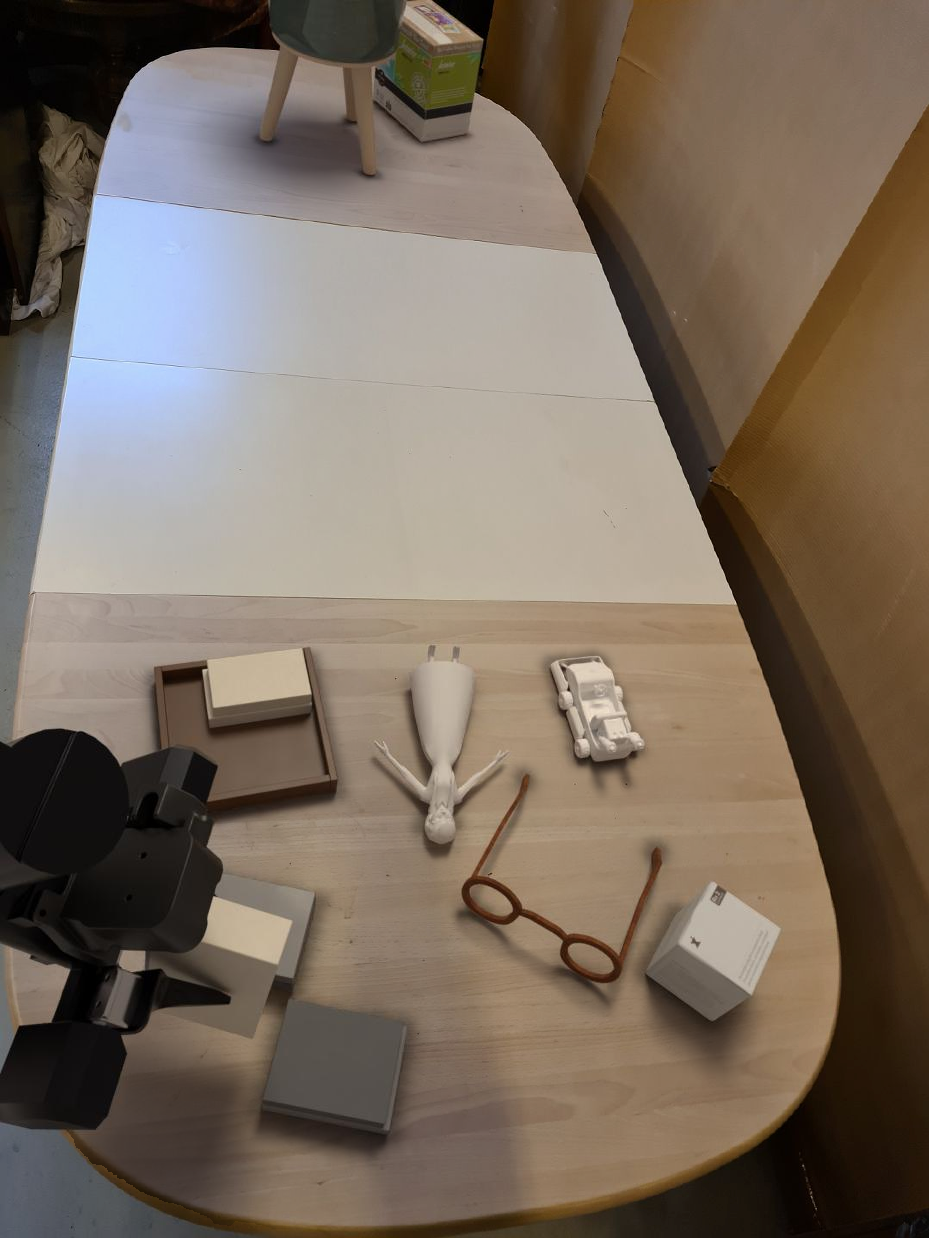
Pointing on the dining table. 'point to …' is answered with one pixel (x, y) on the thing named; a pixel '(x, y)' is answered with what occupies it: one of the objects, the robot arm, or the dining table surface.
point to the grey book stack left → (281, 904)
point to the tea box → (430, 73)
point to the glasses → (545, 923)
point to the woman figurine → (441, 737)
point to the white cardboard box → (714, 952)
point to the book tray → (247, 742)
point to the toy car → (595, 709)
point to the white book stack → (256, 687)
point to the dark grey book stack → (336, 1067)
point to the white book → (229, 965)
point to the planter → (335, 54)
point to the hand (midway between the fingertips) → (234, 970)
